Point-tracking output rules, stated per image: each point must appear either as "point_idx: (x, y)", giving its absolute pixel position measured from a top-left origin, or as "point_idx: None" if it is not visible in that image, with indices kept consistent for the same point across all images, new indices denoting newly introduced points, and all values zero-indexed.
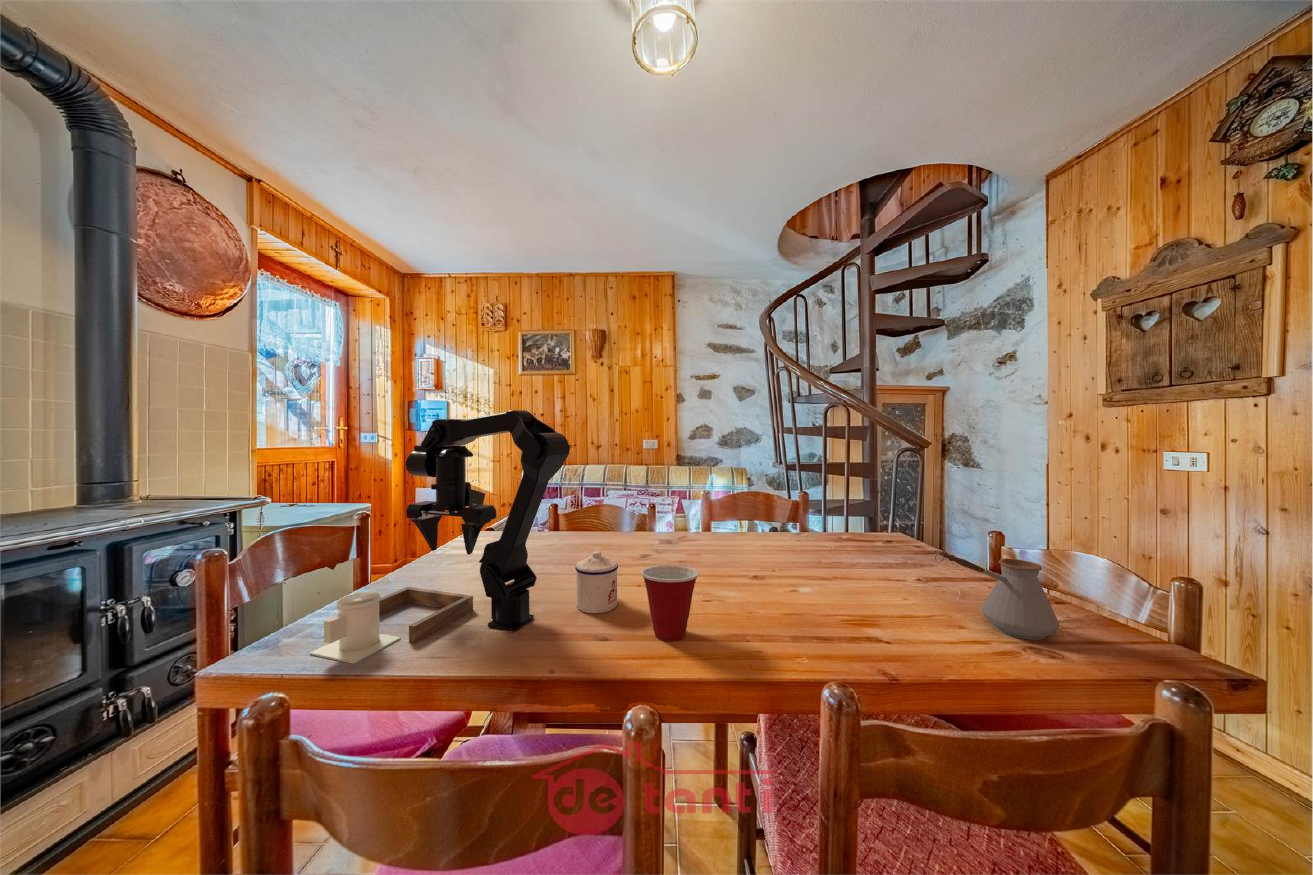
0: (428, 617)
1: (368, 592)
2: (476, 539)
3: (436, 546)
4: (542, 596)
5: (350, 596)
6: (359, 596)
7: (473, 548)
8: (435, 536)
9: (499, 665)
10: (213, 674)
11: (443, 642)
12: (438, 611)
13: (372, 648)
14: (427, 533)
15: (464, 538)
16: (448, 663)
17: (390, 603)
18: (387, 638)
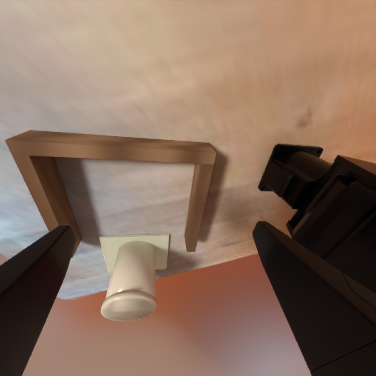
0: (194, 233)
1: (118, 300)
2: (328, 269)
3: (63, 237)
4: (339, 24)
5: (108, 311)
6: (122, 308)
7: (282, 235)
8: (18, 297)
9: (290, 237)
10: (71, 299)
11: (221, 226)
12: (195, 218)
13: (161, 254)
14: (16, 372)
15: (293, 324)
16: (246, 246)
17: (54, 189)
18: (156, 240)
